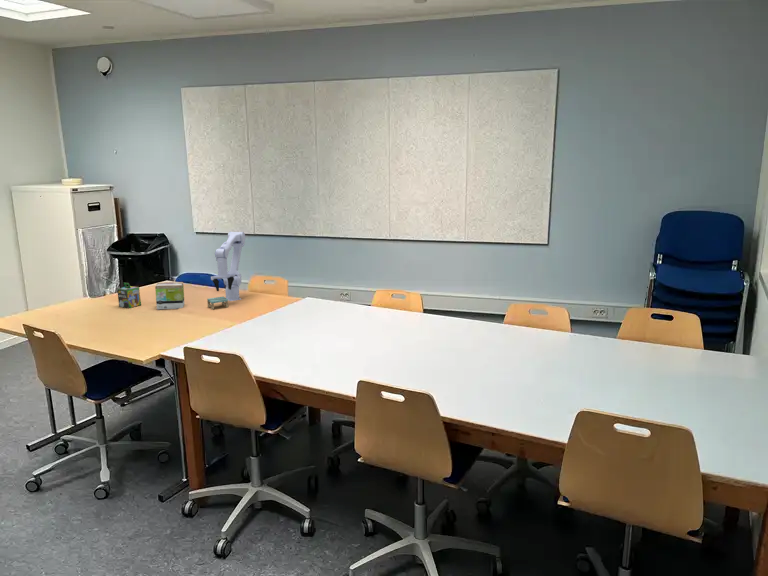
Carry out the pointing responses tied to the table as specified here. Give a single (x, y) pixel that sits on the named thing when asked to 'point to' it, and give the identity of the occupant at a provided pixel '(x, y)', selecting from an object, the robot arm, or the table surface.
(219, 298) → the footstool
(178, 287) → the tea box
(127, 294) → the chalk box
